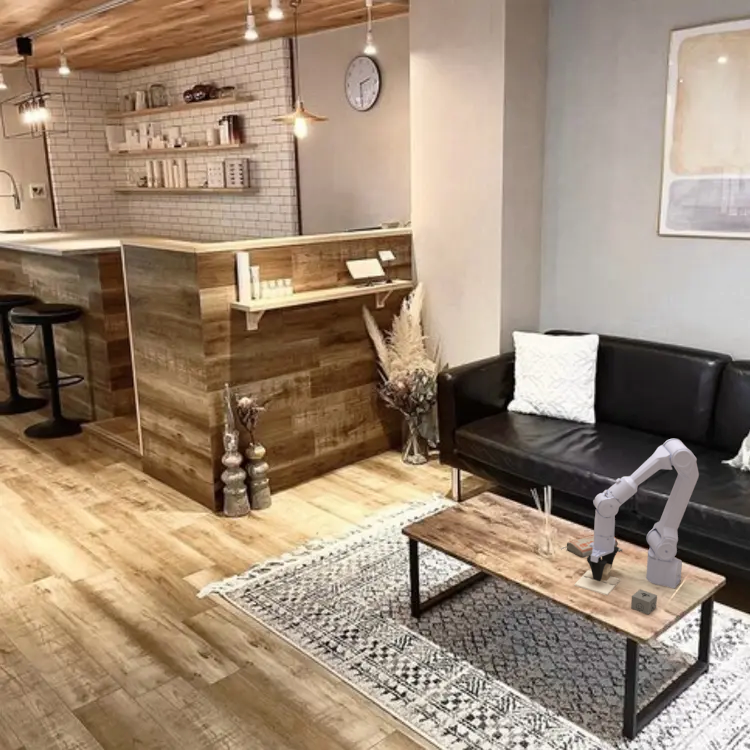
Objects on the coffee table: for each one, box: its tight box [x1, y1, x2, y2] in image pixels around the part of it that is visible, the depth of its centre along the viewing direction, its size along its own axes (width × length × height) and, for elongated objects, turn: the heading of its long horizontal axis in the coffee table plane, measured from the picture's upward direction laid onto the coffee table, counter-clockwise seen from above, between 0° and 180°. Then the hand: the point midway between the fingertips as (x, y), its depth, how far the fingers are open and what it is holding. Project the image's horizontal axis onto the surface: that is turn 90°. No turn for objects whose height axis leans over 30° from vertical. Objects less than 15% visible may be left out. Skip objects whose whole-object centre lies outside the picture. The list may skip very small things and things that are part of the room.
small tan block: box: [582, 563, 621, 587], centre depth 232 cm, size 10×4×5 cm, turn 53°
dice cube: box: [630, 588, 658, 616], centre depth 216 cm, size 5×5×5 cm
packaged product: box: [559, 534, 623, 558], centre depth 252 cm, size 18×5×10 cm
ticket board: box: [574, 575, 616, 596], centre depth 231 cm, size 18×16×2 cm
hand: (602, 574), depth 232 cm, fingers open, 7 cm apart
